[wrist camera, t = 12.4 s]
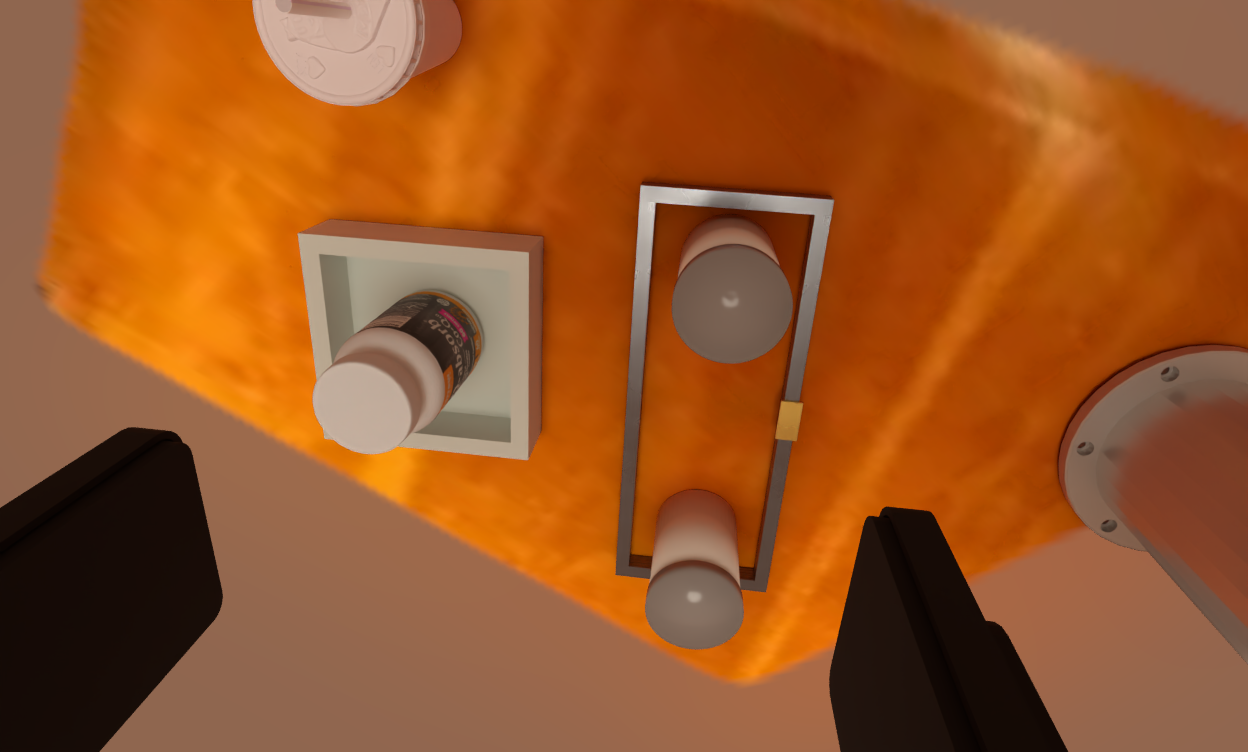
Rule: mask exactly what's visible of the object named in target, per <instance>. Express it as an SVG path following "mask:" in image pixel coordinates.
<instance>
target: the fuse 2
mask: <svg viewBox="0 0 1248 752" xmlns="http://www.w3.org/2000/svg"><path fill="white" fill-rule="evenodd" d="M645 612H646V617H647V620H648V622H649V624H650V626H651V628H652V629H653V630H654V631H655V633H656V634H657V635H659V636H660V637H661V638H662V639H664V640H665V641H667V642H669V643H671V644H673V645H676V646H679V647H682V648H687V649H707V648H712V647H715V646H718V645H721V644H723V643H725V642H726V641H728V640H729V639H730V638H732V637H733V636H734V635H735V634H736V633H737V631H738V630H739V628H740V626H741V624H742V621H743V614H744V611H743V597H742V592H741V589H740V576H739V560H738V544H737V527H736V518H735V514H734V512H733V510H732V508H731V506H730V505H729V504H728V503H727V502H726V501H725V500H724V499H723V498H721V497H720V496H718V495H716V494H714V493H712V492H709V491H705V490H686V491H682V492H679V493H677V494H674V495H673V496H671V497H670V498H668V499H667V500H666V501H665V502H664V503H663V505H662V506H661V508H660V510H659V512H658V515H657V522H656V531H655V540H654V549H653V558H652V567H651V577H650V583H649V586H648V589H647V596H646V605H645Z"/></svg>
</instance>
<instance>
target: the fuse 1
mask: <svg viewBox="0 0 1248 752" xmlns="http://www.w3.org/2000/svg"><path fill="white" fill-rule="evenodd" d="M792 309H793V301H792V294H791V290H790V287H789V284H788V281H787V278H786V276H785V274H784V272H783V270H782V269H781V268H780V265H779V262H778V259H777V256H776V253H775V251H774V248H773V245H772V242H771V240H770V238H769V236H768V234H767V233H766V231H765V230H764V229H763V228H762V227H761V226H760V225H759V224H758V223H756V222H755V221H753V220H751V219H750V218H747V217H745V216H741V215H737V214H721V215H716V216H713V217H710V218H708V219H706V220H704V221H702V222H701V223H700V224H698V225H697V226H696V227H695V228H694V229H693V230H692V231H691V232H690V234H689V235H688V237H687V238H686V240H685V242H684V244H683V247H682V251H681V257H680V264H679V272H678V279H677V281H676V284H675V288H674V293H673V299H672V316H673V321H674V325H675V327H676V330H677V332H678V334H679V335H680V337H681V339H682V340H683V341H684V342H685V344H686V345H687V346H688V347H689V348H690V349H692V350H693V351H694V352H696V353H697V354H699V355H700V356H702V357H704V358H707V359H709V360H712V361H716V362H720V363H741V362H746V361H750V360H753V359H755V358H758V357H760V356H762V355H763V354H765V353H766V352H768V351H769V350H771V349H772V348H773V347H774V346H775V345H776V344H777V343H778V342H779V341H780V340H781V338H782V337H783V335H784V334H785V332H786V330H787V328H788V326H789V323H790V320H791V316H792Z"/></svg>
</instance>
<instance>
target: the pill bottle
mask: <svg viewBox="0 0 1248 752" xmlns="http://www.w3.org/2000/svg"><path fill="white" fill-rule="evenodd" d="M482 349H483V336H482V331H481V328H480V325H479V323H478V321H477V319H476V317H475V316H474V314H473V313H472V311H471V310H470V309H469V308H468V307H467V306H466V305H465V304H464V303H463V302H461V301H460V300H459V299H457V298H455V297H453V296H452V295H449V294H447V293H444V292H440V291H434V290H424V291H418V292H414V293H412V294H409V295H407V296H405V297H404V298H402V299H400V300H399V301H398V302H396V303H395V304H393V305H392V306H391V307H390V308H388V309H387V310H386V311H384V312H383V313H382V314H381V315H379V316H378V317H377V318H376V319H374V320H373V321H372V322H370V323H369V324H368V325H366V326H365V327H364V328H362V329H361V330H360V331H358V332H357V333H355V334H354V335H353V336H351V337H350V338H349V339H348V340H347V341H346V342H345V343H344V344H343V345H342V347H341V348H340V350H339V351H338V353H337V355H336V357H335V359H334V363H333V364H332V365H331V366H330V367H329V368H328V369H326V370H325V371H324V372H323V373H322V375H321V376H320V377H319V379H318V380H317V382H316V384H315V387H314V391H313V407H314V412H315V415H316V417H317V419H318V421H319V423H320V425H321V426H322V428H323V429H324V431H325V432H326V433H327V434H328V435H329V436H330V437H331V438H332V439H333V440H335V441H336V442H337V443H338V444H340V445H342V446H343V447H345V448H347V449H350V450H352V451H355V452H359V453H363V454H379V453H384V452H387V451H390V450H392V449H394V448H396V447H397V446H398V445H400V444H401V443H402V442H403V441H404V440H405V439H406V438H407V437H408V436H409V435H410V434H412V433H414V432H417V431H419V430H421V429H423V428H424V427H426V426H427V425H428V424H430V423H431V422H432V421H433V420H434V419H435V418H436V417H437V415H438V414H439V413H440V411H441V410H442V409H443V408H444V406H445V405H446V404H447V403H448V401H449V400H450V399H451V398H452V397H453V395H454V394H455V393H456V392H457V390H458V389H459V388H460V386H461V385H462V384H463V383H464V381H465V380H466V379H467V378H468V376H469V375H470V374H471V373H472V371H473V370H474V368H475V367H476V365H477V363H478V362H479V359H480V357H481V354H482Z"/></svg>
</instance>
